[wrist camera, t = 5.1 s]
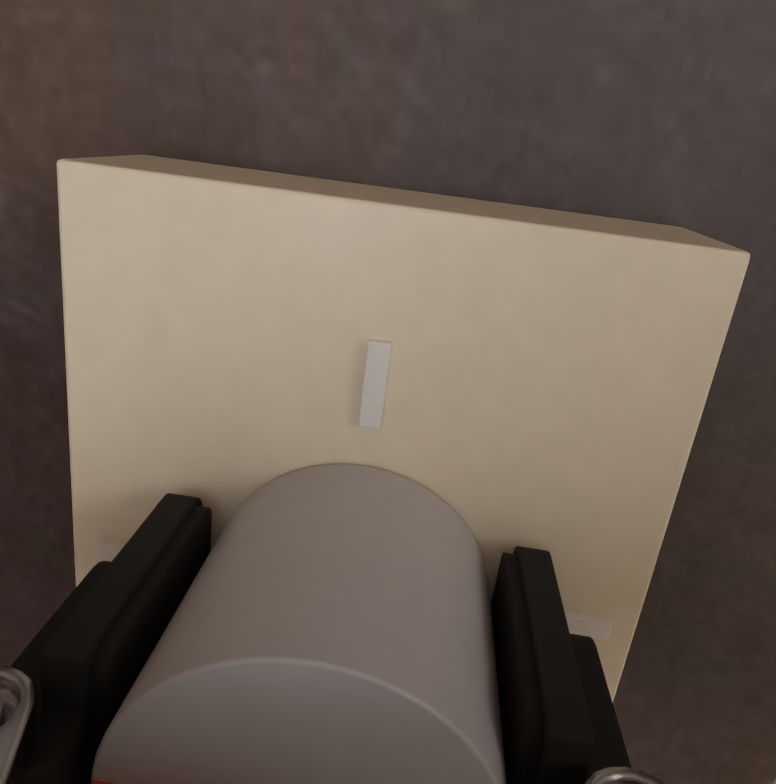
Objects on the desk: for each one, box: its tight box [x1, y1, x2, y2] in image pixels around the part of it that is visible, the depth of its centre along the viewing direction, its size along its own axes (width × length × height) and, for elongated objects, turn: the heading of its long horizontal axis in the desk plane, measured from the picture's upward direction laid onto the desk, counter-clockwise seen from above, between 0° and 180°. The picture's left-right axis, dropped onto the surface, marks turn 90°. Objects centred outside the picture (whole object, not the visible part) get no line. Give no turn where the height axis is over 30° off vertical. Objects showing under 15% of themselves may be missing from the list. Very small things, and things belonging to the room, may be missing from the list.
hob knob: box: [91, 464, 507, 784], centre depth 10 cm, size 5×5×5 cm
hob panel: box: [57, 155, 750, 703], centre depth 13 cm, size 10×13×3 cm
